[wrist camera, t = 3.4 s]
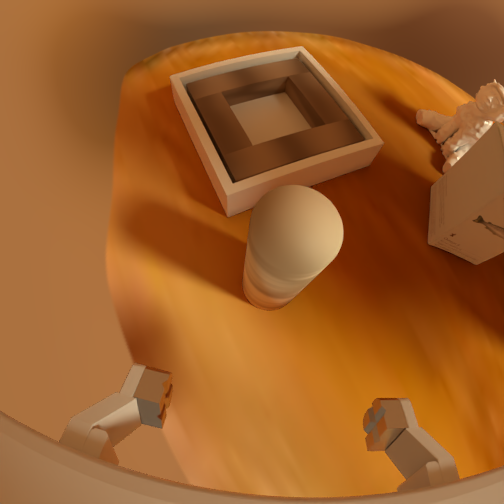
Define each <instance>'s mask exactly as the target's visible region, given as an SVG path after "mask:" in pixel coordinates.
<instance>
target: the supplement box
mask: <svg viewBox="0 0 504 504" xmlns="http://www.w3.org/2000/svg"><path fill="white" fill-rule="evenodd" d="M428 244H429V245H432V246H435V247H438V248H440V249H443V250H445V251H448V252H450V253H452V254H454V255H456V256H459V257H461V258H463V259H465V260H467V261H469V262H471V263H473V264H475V265H478V264H480V263H482V262H484V261H487V260H489V259H491V258H493V257H495V256H497V255H499V254H501V253H503V252H504V126H503V125H502V124H500V123H499V122H497V121H496V122H495V123H494V124H493V125H492V126H491V127H490V128H489V129H488V130H487V131H486V132H485V133H484V134H483V135H482V136H481V138H480V139H479V140H478V141H477V142H476V143H475V144H474V145H473V146H472V147H471V148H470V149H469V150H468V151H467V152H466V153H465V154H464V155H463V156H462V157H461V158H460V159H459V160H458V161H457V162H456V163H455V164H454V165H453V166H452V167H451V168H450V169H449V170H448V171H447V172H446V173H445V174H444V175H443V176H442V177H441V178H440V179H438V180H437V181H436V182H435V183H434V184H433V185H432V186H431V194H430V214H429V228H428Z"/></svg>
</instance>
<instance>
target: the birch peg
mask: <svg viewBox="0 0 504 504" xmlns="http://www.w3.org/2000/svg"><path fill="white" fill-rule="evenodd" d="M343 233H344V232H343V224H342V220H341V217H340V215H339V213H338V211H337V209H336V208H335V206H334V205H333V204H332V202H331V201H330V200H329V199H328V198H327V197H325V196H324V195H323V194H321V193H320V192H318V191H316V190H314V189H312V188H309V187H305V186H300V185H285V186H281V187H277V188H275V189H272V190H271V191H269V192H267V193H266V194H265V195H263V196H262V197H261V198H260V199H259V200H258V202H257V203H256V205H255V207H254V209H253V211H252V214H251V218H250V225H249V232H248V240H247V248H246V256H245V264H244V272H243V280H242V287H243V292H244V294H245V296H246V298H247V299H248V301H249V302H250V303H251V304H252V305H254V306H255V307H257V308H259V309H262V310H269V311H271V310H277V309H280V308H282V307H284V306H285V305H287V304H288V303H289V302H290V301H291V300H292V299H293V298H294V297H295V296H296V295H297V294H298V293H299V292H300V291H302V290H303V289H304V288H305V287H306V286H307V285H308V284H309V283H310V282H311V281H312V280H313V279H314V278H315V277H316V276H317V275H318V274H319V273H320V272H321V271H322V270H323V269H324V268H325V267H326V266H327V265H328V264H329V263H330V262H331V261H332V260H333V259H334V258H335V257H336V255H337V254H338V252H339V250H340V248H341V245H342V242H343Z"/></svg>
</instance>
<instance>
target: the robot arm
mask: <svg viewBox="0 0 504 504" xmlns="http://www.w3.org/2000/svg"><path fill="white" fill-rule="evenodd" d="M171 381H172V373H171V372H168V371H164V370H160V369H156V368H153V367H149V366H145V365H142V364H138V363H134V364H133V365H132V367H131V369H130V372H129V373H128V375H127V378H126V380H125V382H124V384H123V386H122V388H121V391H120V392H119V393H117V392H115V393H114V394H112V395H110V396H108V397H107V398H105V399H103V400H101V401H100V402H98V403H96V404H95V405H93V406H91V407H89V408H87V409H86V410H84V411H82V412H80V413H78V414H77V415H75V416H73V417H72V418H71V419H70V421H69V423H68V425H67V428H66V429H65V431H64V433H63V435H62V437H61V439H60V441H59V442H58V441H55V440H53V439H51V438H49V437H47V436H45V435H43V434H41V433H39V432H37V431H35V430H33V429H31V428H29V427H27V426H26V425H24V424H22V423H20V422H18V421H17V420H15V419H13V418H11V417H10V416H8V415H6V414H5V413H3V412H1V411H0V504H504V466H501V467H498V468H495V469H492V470H489V471H486V472H483V473H480V474H477V475H473V476H470V477H466V478H463V479H460V478H459V475H458V471H457V468H456V465H455V461H454V458H453V457H452V456H451V455H450V454H449V453H448V452H447V451H446V450H445V449H444V448H443V447H442V446H441V445H440V444H439V443H438V442H436V441H435V440H434V439H433V438H432V437H431V436H430V435H429V434H428V433H427V432H426V431H425V430H424V429H423V428H422V427H418V424H417V420H416V417H415V414H414V411H413V408H412V405H411V402H410V400H409V399H408V398H376V399H375V400H374V401H373V403H372V406H373V407H371V408H369V409H368V410H367V411H366V413H365V415H364V419H363V428H364V431H365V432H366V433H367V434H368V435H367V436H366V438H365V439H366V445H367V451H385V453H386V454H387V455H388V457H389V458H390V459H391V460H392V462H393V463H394V464H395V466H396V467H397V468H398V470H399V471H400V472H401V474H402V475H403V476H404V477H405V479H406V481H404V482H403V483H402V484H401V485H399V486H398V488H397V490H398V492H392V493H384V494H375V495H364V496H350V497H322V498H308V497H279V496H265V495H254V494H245V493H236V492H229V491H222V490H216V489H210V488H204V487H199V486H194V485H189V484H184V483H179V482H175V481H171V480H167V479H163V478H159V477H155V476H151V475H148V474H144V473H140V472H137V471H134V470H131V469H127V468H124V467H121V466H118V464H119V460H118V458H117V456H116V453H115V451H114V449H113V447H114V446H115V445H117V444H118V443H119V442H120V441H122V440H123V439H124V438H126V437H127V436H128V435H129V434H131V433H132V432H133V431H134V430H136V429H137V428H138V427H140V426H141V424H145V425H149V426H153V427H157V428H161V429H162V428H163V425H164V422H165V418H166V409H167V408H168V407H169V406H170V402H171V398H172V392H173V385H172V384H171Z"/></svg>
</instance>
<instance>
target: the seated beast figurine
mask: <svg viewBox="0 0 504 504" xmlns="http://www.w3.org/2000/svg"><path fill="white" fill-rule="evenodd" d="M416 120H417V122H416V123H417V124H419V125H420V126H422V127H425V128H427V129H428V130H429V131H430V133H431V134H432V135H433V137H434V139H437V141H436V143H438V144H440V145H441V151H443V152H442V154H443V155H444V157H445V158H446V160H447V161H446V162H445V164H444V165H443V168H442V169H443V170H442V172H443V173H446V172H447V171H448V170H449V169H450V168H451V167H452V166H453V165H454V164H455V163H456V162H457V161H458V160H459V159H460V158H461V157H462V156H463V155H464V154H465V153H466V152H467V151H468V150H469V149H470V148H471V147H472V146H473V145H474V144H475V143H476V142H477V141H478V140H479V139H480V138H481V136H482V135H483V134H484V133H485V132H486V131H487V130H488V129H489V128H490V127H491V126H492V121H495V122H496V121H497V122H499V123H500V122H503V121H504V88H503V87H502V86H501V85H500V84H499V83H497V82H496V80H495V79H494V82H493V83H488V84H487V85H486V86H481V87H480V90H479V92H478V93H476V102H472V101H469V102H468V103H467V104H463V105H461V106H459V107H457V112H456V114H455V115H454V116H453V117H451V116H445V115H442V114H439V113H437V112H436V111H431V110H422V109H419V110H418V111H417V114H416ZM436 132H437V133H436ZM444 142H445V143H444ZM443 143H444V145H442V144H443ZM447 157H448V158H447Z"/></svg>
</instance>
